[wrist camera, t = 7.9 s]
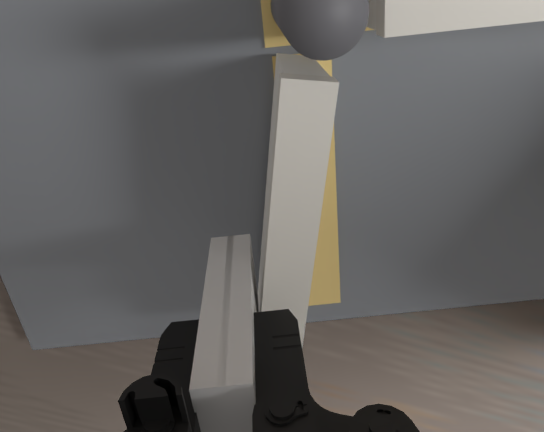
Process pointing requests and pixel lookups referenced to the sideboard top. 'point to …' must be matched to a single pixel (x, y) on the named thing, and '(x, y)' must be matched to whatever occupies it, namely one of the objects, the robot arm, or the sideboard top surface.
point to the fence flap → (295, 182)
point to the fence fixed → (388, 20)
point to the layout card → (256, 164)
